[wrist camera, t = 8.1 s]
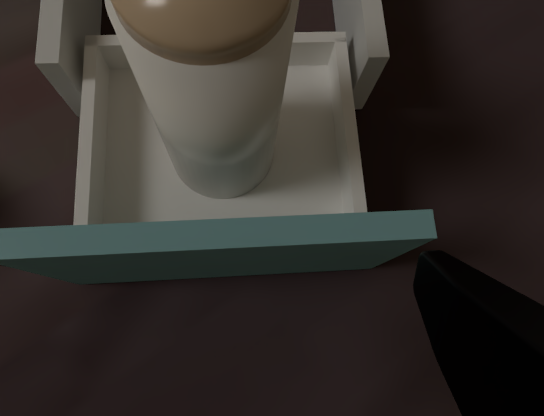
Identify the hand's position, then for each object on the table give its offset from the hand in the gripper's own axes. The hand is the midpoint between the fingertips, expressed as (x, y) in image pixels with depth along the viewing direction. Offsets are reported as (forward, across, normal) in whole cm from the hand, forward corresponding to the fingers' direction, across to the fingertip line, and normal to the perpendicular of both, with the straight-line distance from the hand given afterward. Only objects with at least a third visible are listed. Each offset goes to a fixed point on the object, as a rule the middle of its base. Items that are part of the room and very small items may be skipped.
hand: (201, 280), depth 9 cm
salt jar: (+14, 0, +3) cm, 14 cm away
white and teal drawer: (+15, 0, +4) cm, 15 cm away
